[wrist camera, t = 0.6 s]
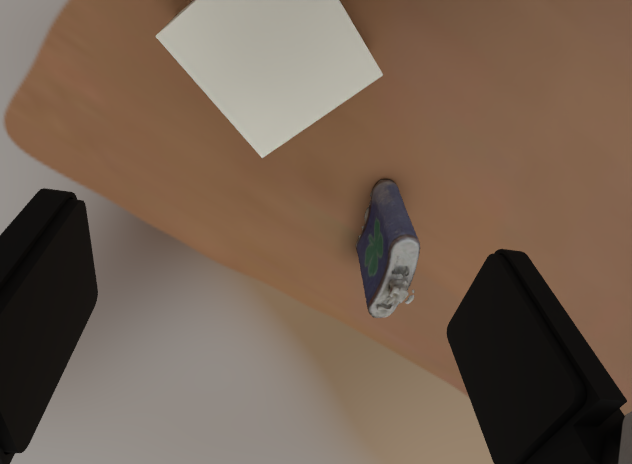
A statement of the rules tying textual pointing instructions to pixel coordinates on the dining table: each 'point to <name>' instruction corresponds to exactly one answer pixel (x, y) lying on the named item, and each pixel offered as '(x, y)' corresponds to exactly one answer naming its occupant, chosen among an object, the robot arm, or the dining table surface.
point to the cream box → (271, 62)
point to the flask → (387, 250)
